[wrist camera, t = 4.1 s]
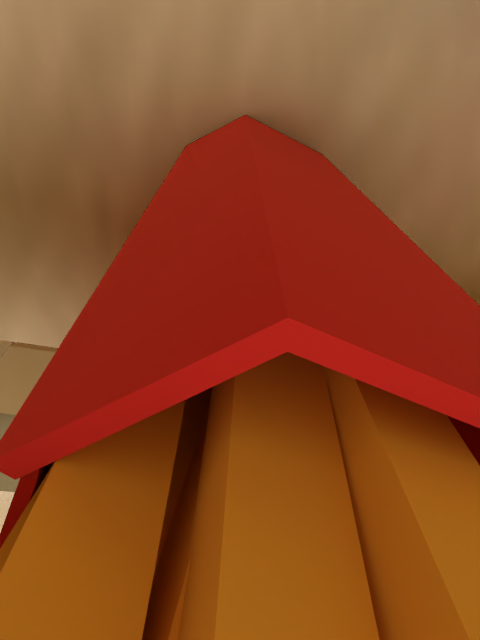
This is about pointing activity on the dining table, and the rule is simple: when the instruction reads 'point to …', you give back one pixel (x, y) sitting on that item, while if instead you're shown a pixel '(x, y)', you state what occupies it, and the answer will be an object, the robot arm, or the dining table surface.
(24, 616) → the french fries
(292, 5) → the dining table surface
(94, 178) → the dining table surface
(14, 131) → the dining table surface
